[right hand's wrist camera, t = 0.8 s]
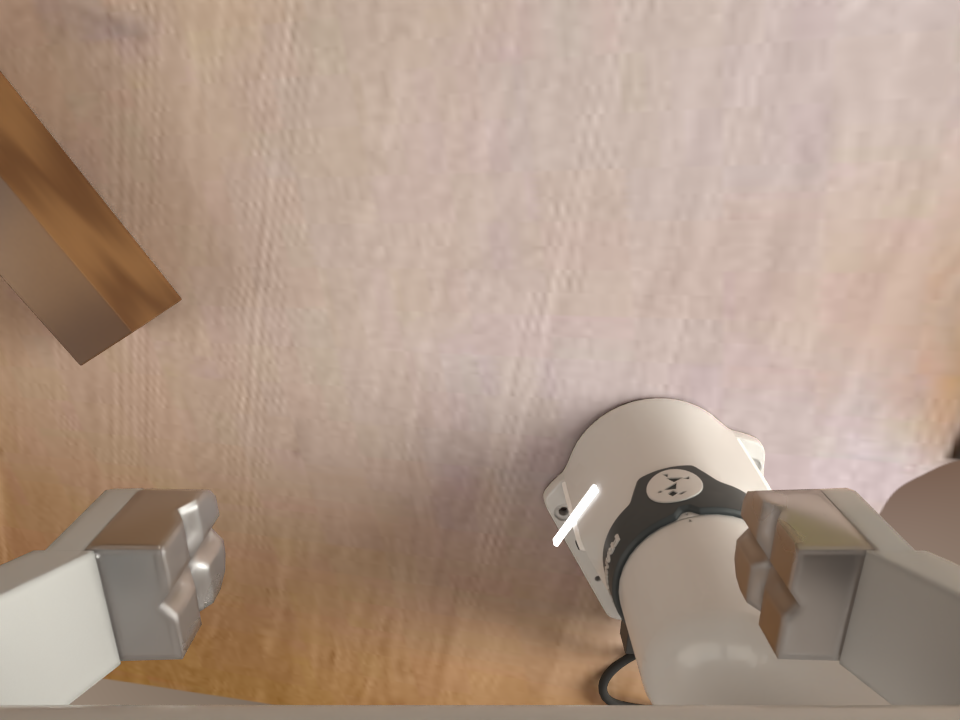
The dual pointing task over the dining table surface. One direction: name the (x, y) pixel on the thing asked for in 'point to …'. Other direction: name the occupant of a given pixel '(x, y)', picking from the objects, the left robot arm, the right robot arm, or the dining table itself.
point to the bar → (68, 242)
